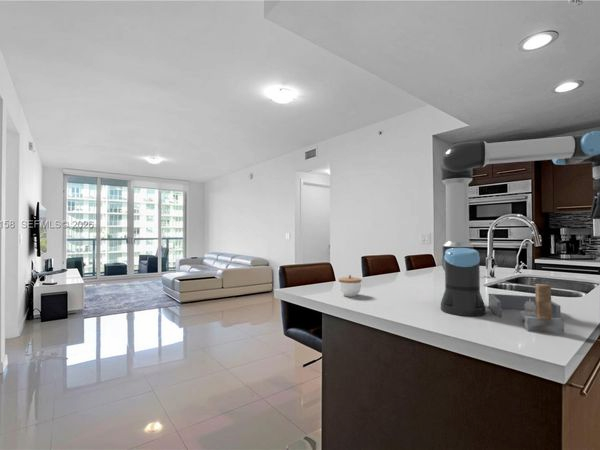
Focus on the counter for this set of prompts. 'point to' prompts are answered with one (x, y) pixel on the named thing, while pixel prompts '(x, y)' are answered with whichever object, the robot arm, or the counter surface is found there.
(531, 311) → the rubber duck
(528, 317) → the scraper
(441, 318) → the counter surface
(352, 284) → the lidded jar
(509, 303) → the box
